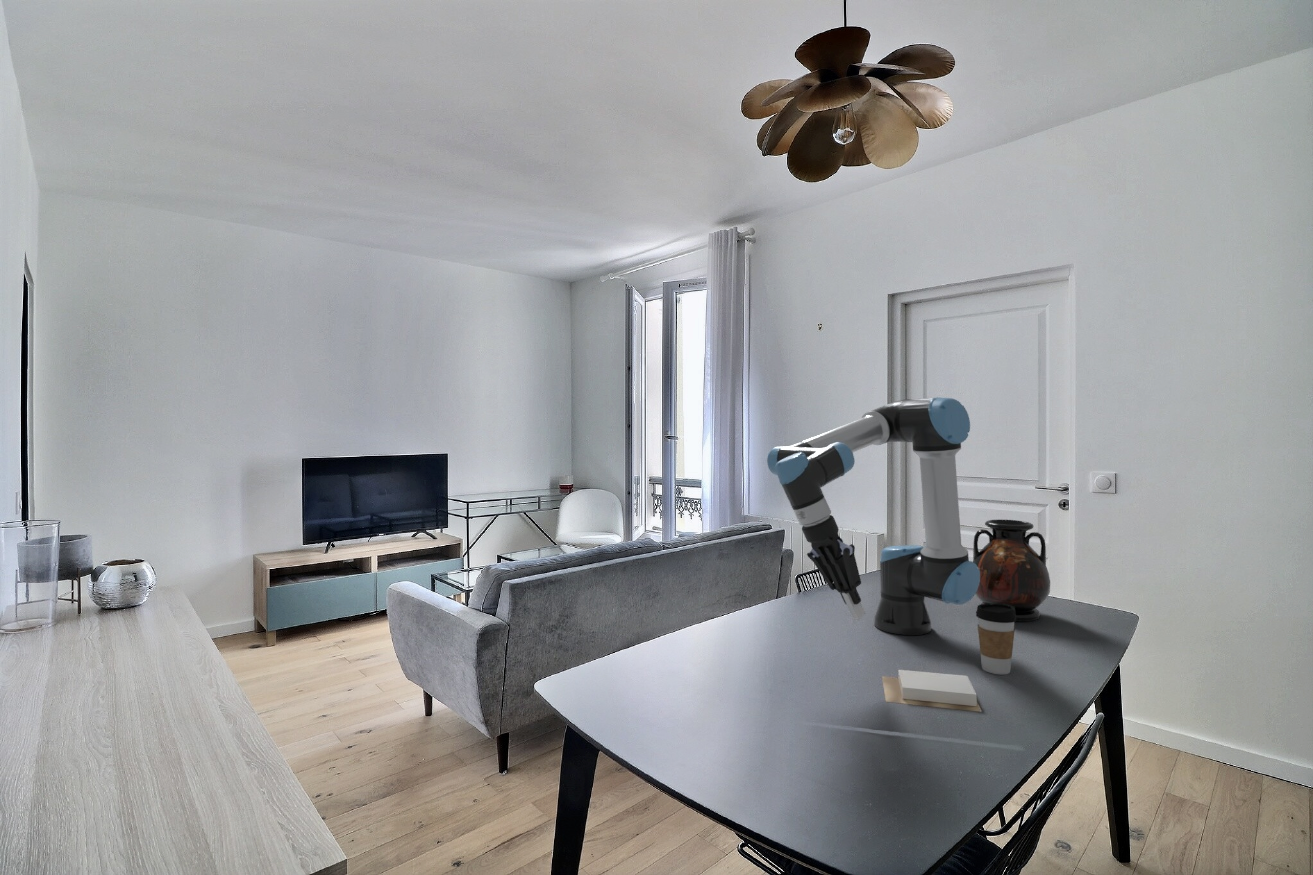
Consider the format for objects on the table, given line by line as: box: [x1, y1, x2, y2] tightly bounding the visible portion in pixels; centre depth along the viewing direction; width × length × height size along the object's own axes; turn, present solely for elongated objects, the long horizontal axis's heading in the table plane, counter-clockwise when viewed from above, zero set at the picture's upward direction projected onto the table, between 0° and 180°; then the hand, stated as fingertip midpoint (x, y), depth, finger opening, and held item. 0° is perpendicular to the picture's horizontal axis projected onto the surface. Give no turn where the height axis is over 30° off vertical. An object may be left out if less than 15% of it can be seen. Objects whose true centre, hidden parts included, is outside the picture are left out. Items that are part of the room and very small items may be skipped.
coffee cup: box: [975, 604, 1017, 676], centre depth 151 cm, size 8×8×15 cm
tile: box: [897, 669, 978, 706], centre depth 137 cm, size 3×10×14 cm
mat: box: [881, 675, 983, 713], centre depth 137 cm, size 18×14×1 cm
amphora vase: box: [972, 519, 1051, 622], centre depth 194 cm, size 22×22×28 cm
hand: (859, 616), depth 144 cm, fingers closed
